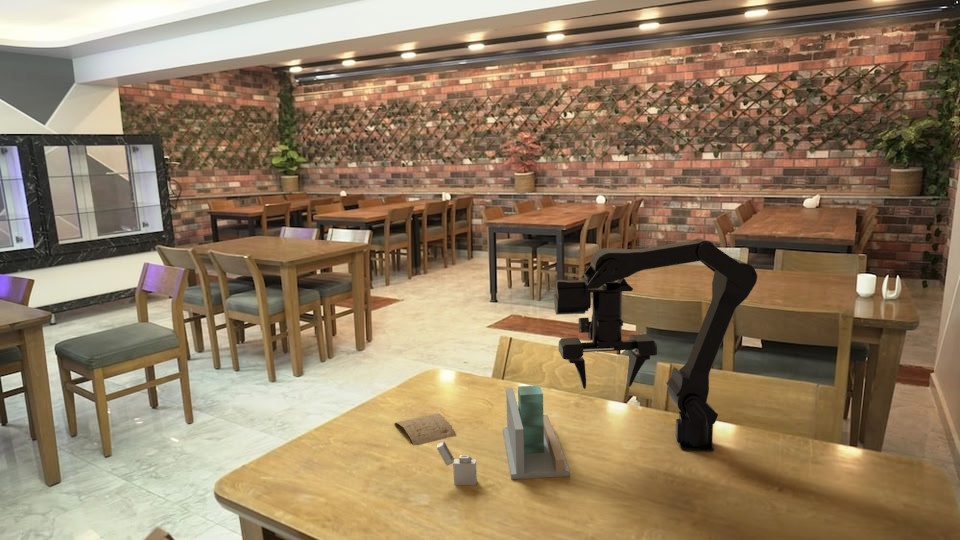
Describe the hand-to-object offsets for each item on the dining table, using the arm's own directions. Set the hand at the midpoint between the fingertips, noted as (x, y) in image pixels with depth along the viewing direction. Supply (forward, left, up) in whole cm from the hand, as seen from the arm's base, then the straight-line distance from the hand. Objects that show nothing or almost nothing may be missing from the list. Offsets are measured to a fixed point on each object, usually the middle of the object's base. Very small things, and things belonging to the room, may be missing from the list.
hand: (606, 387), depth 123 cm
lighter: (+28, +17, -13) cm, 35 cm away
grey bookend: (+15, +4, -13) cm, 20 cm away
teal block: (+15, +4, -12) cm, 20 cm away
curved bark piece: (+40, -4, -14) cm, 43 cm away
